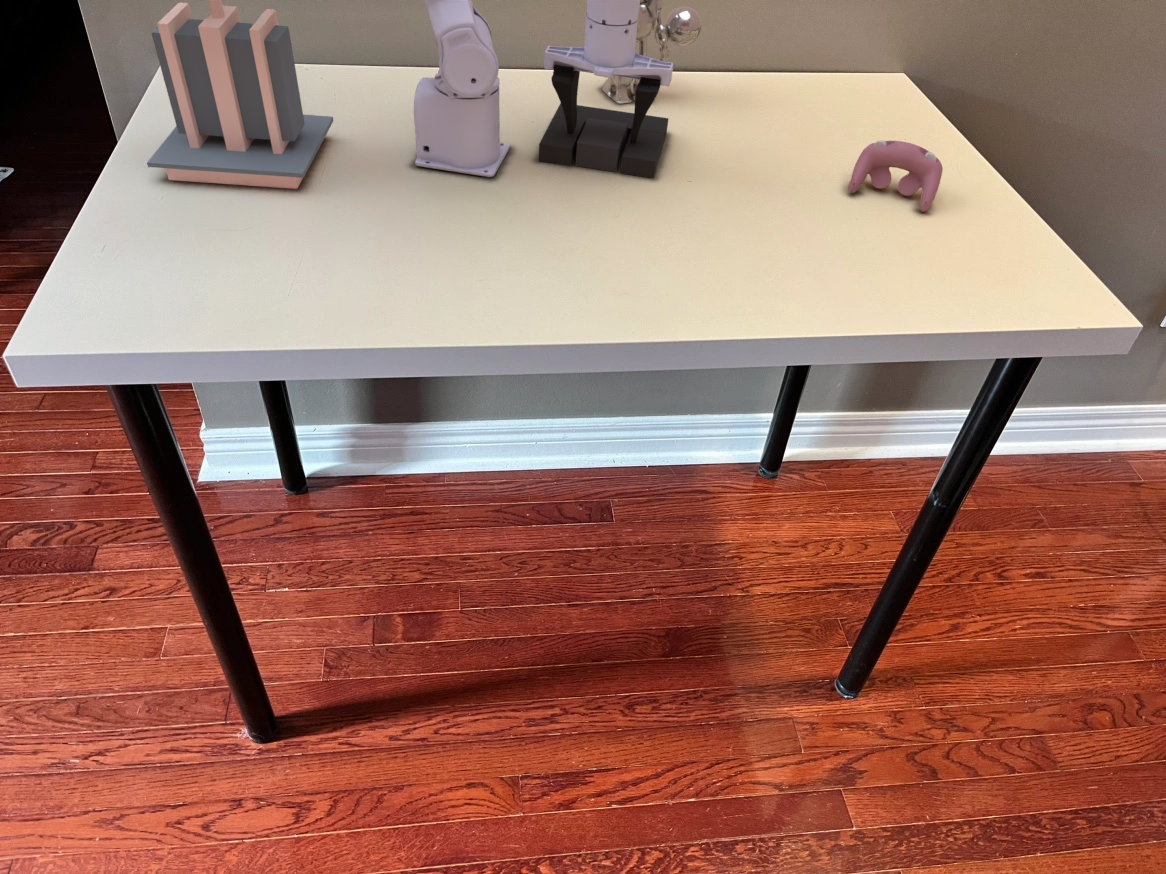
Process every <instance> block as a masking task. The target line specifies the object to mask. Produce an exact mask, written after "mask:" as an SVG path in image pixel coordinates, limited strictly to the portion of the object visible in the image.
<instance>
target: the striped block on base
mask: <svg viewBox="0 0 1166 874" xmlns="http://www.w3.org/2000/svg"><path fill="white" fill-rule="evenodd" d="M207 3H208V7H209V14H208V15H207V16H205V19H195V18H193V15H192V11H191V7H190V3H189V2H179V1H178V3H177V4H176V5H175V6H173V8H171V10H169V12H167V13H166V14H165V15H164V16H163V17H162V18H161V19H160V20H159V21H158V22H157V26H156V27H155V28H154V29H153V30H152V31H151V37H152V41H153V44H154V48H155V51H156V55H157V58H158V63H159V66H160V70H161V72H162V73H161V74H162V76H163V81H164V84H165V89H166V92H167V96H168V100H169V104H170V107H171V110H172V114H173V119H174V122H175V127H174V129H172V131H171V132H170V134H169V135H168V136H167V137H166V138H165V139H164V141H163V142H162V143H161V144H160V146H159V147H158V148H157V149H156V151H155V152H154V153H153V154H152V156H151V157H150V158H149V160H148V161H147V162H146V164H147V168H158V169H165V171H166V175H167V178H168V181H178V182H192V183H193V182H194V183H208V184H223V185H237V186H249V187H251V186H252V187H264V188H278V189H279V188H280V189H294V190H297V189H298V188H299V187H300V185H301V182H302V181H303V179H304V178H305V176H306V174H307V173H308V170H309V169H310V166H311V165H312V163H313V161H314V159H315V157H316V155H317V153H318V151H319V150H320V147H321V146H322V144H323V142H324V140H325V138H326V136H327V134H328V132H329V130H330V128H331V127H332V125H333V123H334V116H330V115H329V116H328V115H315V114H304V113H303V106H302V105H303V104H302V100H301V95H300V88H299V82H298V75H297V70H296V65H295V64H296V63H295V58H294V57H295V56H294V53H293V45H292V40H291V39H292V38H291V34H290V28H289V26H288V25H279V22H278V16H277V10H276V9H273V8H265V10H264V11H263V12H262V14H260V16H259V17H258V19H256V20H255V22H254V23H248V22H241V16H240V12H239V6H232V5H224V4H223V0H207Z"/></svg>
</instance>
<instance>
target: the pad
mask: <svg viewBox="0 0 1166 874" xmlns="http://www.w3.org/2000/svg"><path fill="white" fill-rule="evenodd" d="M627 129H628V123H621V122H614V121H608V120H601V119H594V118H588V119H587V122H586V124H585V126H584V128H583V130H582V133H581V135H580V137H579V139H578V141H577V149H576V156H575V167H580V168H587V169H592V170H600V171H606V172H607V171H608V172H613V173H617V172H618V169H619V167H620V163H621V162H622V156H623V153H624V150H625V147H626V139H627Z"/></svg>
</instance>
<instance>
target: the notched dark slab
mask: <svg viewBox="0 0 1166 874" xmlns="http://www.w3.org/2000/svg"><path fill="white" fill-rule="evenodd" d="M588 118H594V119H601V120H608V121H614V122H621V123H628V129H627V139H626V147H625V150H624V152H623V155H622V158H621V162H620V163H621V164H620V174H623V175H631V176H635V177H641V178H642V177H643V178H649V179H654V178H655V176H656V175H655V174H656V171H657V168H658V164H659V161H660V158H661V154H662V152H663V151H662V150H663V148H664V144H665V141H666V137H667V132H668V126H669V118H668V117H663V116H662V117H661V116H655V115H649V114H648V115H647V114H646V115H645V117H644V119H643V121H642V124H641V127H640V131H639V136H638V139H637V142H636V143H635V144H634V143H630V138H631V131H632V126H633V121H634V112H628V111H621V110H614V109H608V108H607V109H606V108H602V107H600V108H599V107H593V106H587V105H579V104H577V123H576V128H575V130H574V133H573V134H568V133H567V126H566V120H565V116H564V112H563V108H562V105H561V102H560V103H559V105H558V107H557V109H556V111H555V113H554V114H553V117H552V119H551V121H550V122H549V125H548V126H547V128H546V130H545V131H544V134H543V136H542V139H541V140H540V142H539V144H538V161H539V162H545V163H552V164H558V165H564V166H572V165H573V162H574V160H575V159H576V149H577V141H578V139H579V137H580V135H581V133H582V130H583V128H584V126H585V124H586V122H587V119H588Z"/></svg>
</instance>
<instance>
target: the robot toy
mask: <svg viewBox="0 0 1166 874" xmlns="http://www.w3.org/2000/svg"><path fill="white" fill-rule="evenodd" d="M662 8H663V0H640V8H639V18H638V27H637V37H636V43H638V54H639V55H642V56H646V57H647V46H648V43H647V42H648V40H647V39H648V38H649V36H650V35H651V33H652V32H653V30H654V34H653V35H654V36H653V37H654V40H655V42H656V43H657V46H659V47H658V51H659V52H660V58H659V60H660V61H664V62H668V59H669V56H670V54H669V53H670V50H669V48H668V42H669V41H670V42H671V43H673V45H676V46H679V47H680V46H681V47H684V46H688V45H690V44H692V43H694V42H695V41H696V40H697V39H698V37H699V36H700V33H701V30H702V21H701V17H700V15H699V13H698V12H697V11H696V10H695V9H693V8H692V7H690V6H686V5H684V6H678V7H676V8H674V9H673V10H671V12H670V13H669V14H668V16H667V18H666V20H665V24H663V23H662V17H661V13H662ZM639 81H640V80H637V79H630V78H623V77H616V76H612V77H607V79H606V80H605V81H604V83H603V87H602V89H601V90H602V91H603V92H604V93H605V94H606V95H607V96H608V97H610V99H612V100H613V101H614V102H616V103H617V104H619V105H622V104H630V103H632V102H633V101H632V99H630V97H629V95H628V93H627V88H628V87H629V88H630V91H631V94H632V95H633V96H632V98H633V100H634V102H635V92H636V88H637V85H638V83H639Z"/></svg>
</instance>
